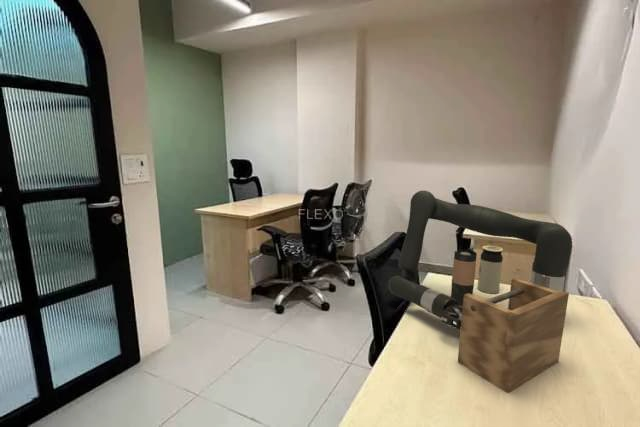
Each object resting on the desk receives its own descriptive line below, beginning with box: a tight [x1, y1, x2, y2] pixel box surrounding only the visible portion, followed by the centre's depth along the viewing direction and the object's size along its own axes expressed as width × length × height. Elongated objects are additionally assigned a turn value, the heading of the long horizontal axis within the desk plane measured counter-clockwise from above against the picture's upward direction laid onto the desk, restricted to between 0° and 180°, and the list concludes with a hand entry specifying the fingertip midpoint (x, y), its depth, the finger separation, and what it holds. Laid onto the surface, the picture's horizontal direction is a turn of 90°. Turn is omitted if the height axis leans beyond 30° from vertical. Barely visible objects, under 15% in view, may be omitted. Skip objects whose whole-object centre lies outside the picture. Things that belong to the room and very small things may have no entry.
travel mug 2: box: [477, 245, 504, 294], centre depth 140 cm, size 8×8×18 cm
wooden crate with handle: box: [457, 277, 570, 394], centre depth 92 cm, size 14×24×20 cm, turn 121°
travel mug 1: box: [450, 248, 477, 306], centre depth 127 cm, size 8×8×20 cm
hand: (485, 327), depth 98 cm, fingers closed on supplement bottle, 6 cm apart
